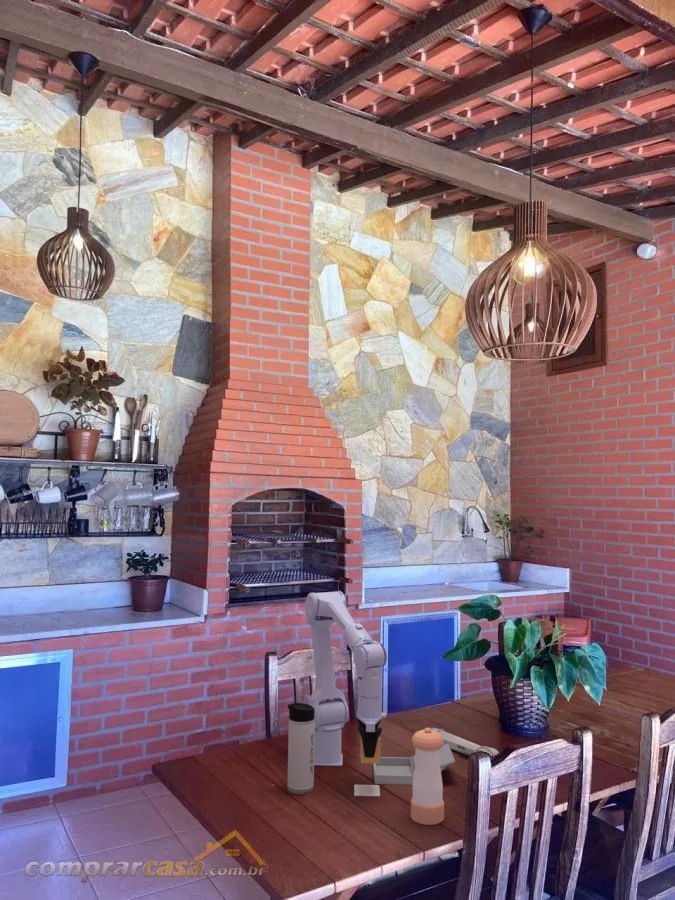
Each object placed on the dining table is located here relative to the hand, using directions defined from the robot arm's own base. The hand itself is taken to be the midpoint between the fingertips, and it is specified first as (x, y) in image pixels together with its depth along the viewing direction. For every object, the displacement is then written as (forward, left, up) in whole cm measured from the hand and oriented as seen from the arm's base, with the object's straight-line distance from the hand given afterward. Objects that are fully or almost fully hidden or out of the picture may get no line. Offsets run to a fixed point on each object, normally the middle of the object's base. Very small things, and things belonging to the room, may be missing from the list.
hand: (369, 753), depth 167 cm
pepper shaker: (+13, -13, -9) cm, 20 cm away
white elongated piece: (+24, +23, -6) cm, 34 cm away
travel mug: (-16, 0, -9) cm, 19 cm away
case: (+11, +9, -9) cm, 17 cm away
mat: (0, -1, -9) cm, 9 cm away
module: (0, 0, -2) cm, 2 cm away
